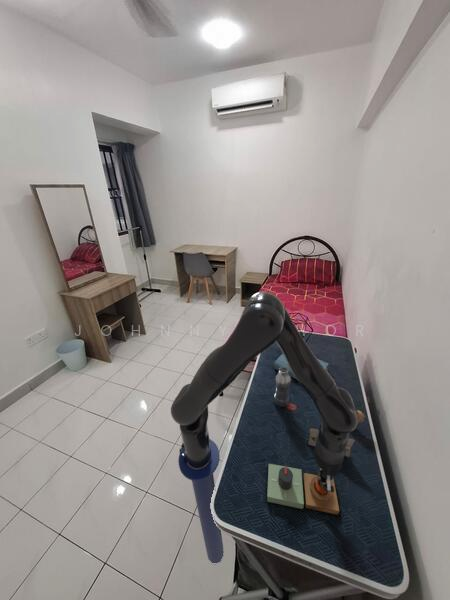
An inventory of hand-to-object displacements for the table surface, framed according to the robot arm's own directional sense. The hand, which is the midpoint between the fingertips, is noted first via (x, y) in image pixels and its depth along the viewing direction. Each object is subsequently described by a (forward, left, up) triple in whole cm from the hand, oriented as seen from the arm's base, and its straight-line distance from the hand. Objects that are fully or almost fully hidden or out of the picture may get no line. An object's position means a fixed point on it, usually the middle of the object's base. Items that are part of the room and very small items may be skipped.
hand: (321, 483), depth 74 cm
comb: (+5, +15, -6) cm, 17 cm away
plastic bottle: (-12, +34, -6) cm, 37 cm away
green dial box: (-11, 0, -6) cm, 13 cm away
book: (-2, +57, -6) cm, 57 cm away
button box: (0, 0, -6) cm, 6 cm away
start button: (0, 0, -3) cm, 3 cm away
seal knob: (-11, 0, -3) cm, 11 cm away
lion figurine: (+14, +30, -6) cm, 34 cm away
